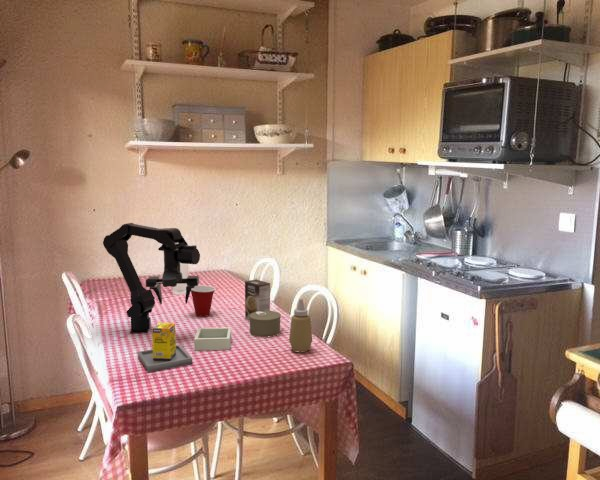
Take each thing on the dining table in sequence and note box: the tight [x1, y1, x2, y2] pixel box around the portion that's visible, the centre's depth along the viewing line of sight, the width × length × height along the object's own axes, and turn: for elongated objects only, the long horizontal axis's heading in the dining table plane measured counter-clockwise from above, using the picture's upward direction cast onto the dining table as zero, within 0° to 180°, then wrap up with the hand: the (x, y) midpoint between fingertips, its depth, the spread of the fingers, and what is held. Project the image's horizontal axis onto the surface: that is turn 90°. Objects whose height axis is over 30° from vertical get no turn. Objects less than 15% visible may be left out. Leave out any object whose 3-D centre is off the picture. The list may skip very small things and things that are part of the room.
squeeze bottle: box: [288, 298, 313, 353], centre depth 178 cm, size 8×8×18 cm
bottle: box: [171, 235, 190, 296], centre depth 254 cm, size 8×8×28 cm
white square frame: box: [194, 327, 232, 351], centre depth 185 cm, size 12×12×4 cm
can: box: [249, 310, 282, 338], centre depth 198 cm, size 12×12×7 cm
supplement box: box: [151, 322, 177, 361], centre depth 169 cm, size 6×6×11 cm
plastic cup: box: [190, 284, 216, 318], centre depth 219 cm, size 11×11×12 cm
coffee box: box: [244, 278, 271, 322], centre depth 212 cm, size 9×6×16 cm
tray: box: [137, 344, 193, 373], centre depth 169 cm, size 14×14×2 cm
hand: (173, 303), depth 193 cm, fingers open, 9 cm apart
